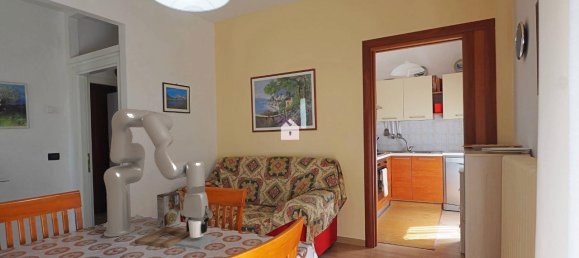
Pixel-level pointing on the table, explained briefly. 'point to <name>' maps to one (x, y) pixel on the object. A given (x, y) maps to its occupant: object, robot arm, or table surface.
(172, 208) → the coffee box
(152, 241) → the pocket board
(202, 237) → the ceramic tile
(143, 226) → the table surface
